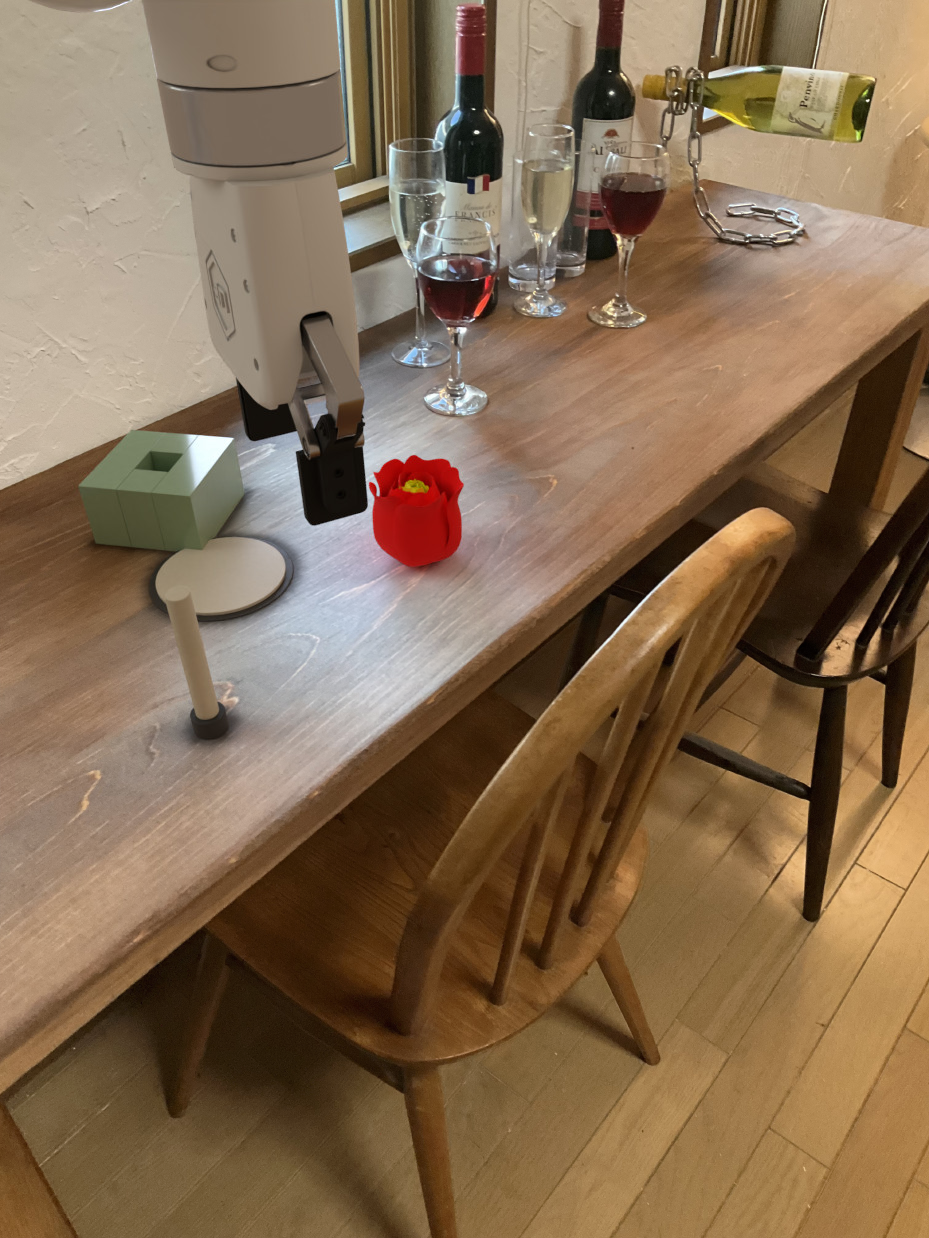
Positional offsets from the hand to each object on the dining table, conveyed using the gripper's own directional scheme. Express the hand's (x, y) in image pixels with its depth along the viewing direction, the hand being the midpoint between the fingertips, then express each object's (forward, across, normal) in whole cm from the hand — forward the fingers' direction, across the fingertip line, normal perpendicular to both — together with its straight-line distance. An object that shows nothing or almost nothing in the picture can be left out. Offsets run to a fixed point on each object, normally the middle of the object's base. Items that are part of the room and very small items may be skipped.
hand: (303, 472), depth 52 cm
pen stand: (+22, -35, -3) cm, 41 cm away
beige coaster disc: (+22, -24, -2) cm, 32 cm away
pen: (+22, -7, -7) cm, 24 cm away
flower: (+22, -19, +15) cm, 32 cm away
